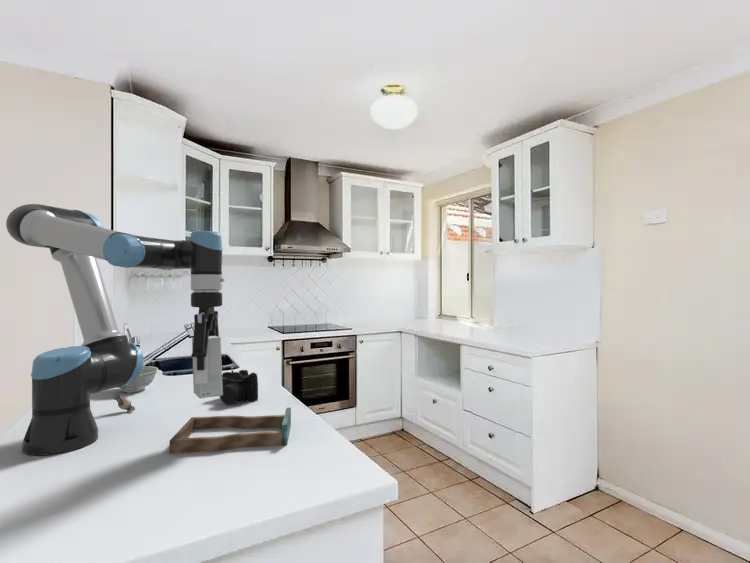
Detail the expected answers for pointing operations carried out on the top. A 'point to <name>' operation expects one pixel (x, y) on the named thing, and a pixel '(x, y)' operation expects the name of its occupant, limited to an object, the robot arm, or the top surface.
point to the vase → (124, 403)
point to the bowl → (141, 380)
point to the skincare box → (211, 370)
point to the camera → (239, 387)
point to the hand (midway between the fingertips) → (207, 378)
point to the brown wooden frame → (203, 444)
